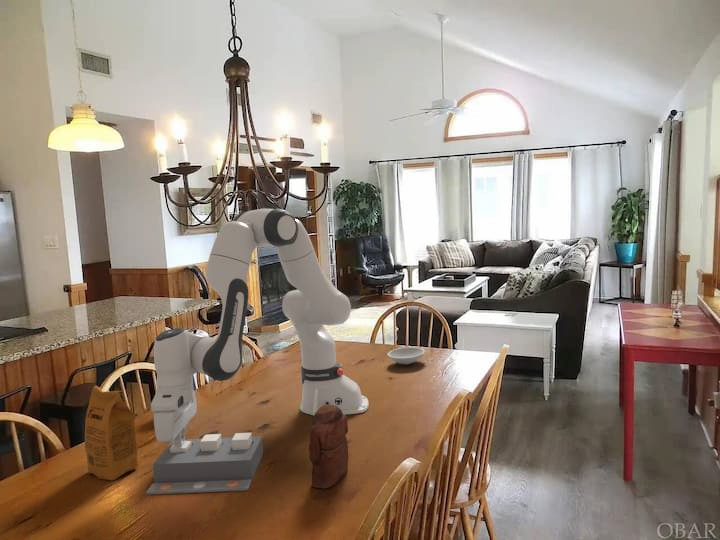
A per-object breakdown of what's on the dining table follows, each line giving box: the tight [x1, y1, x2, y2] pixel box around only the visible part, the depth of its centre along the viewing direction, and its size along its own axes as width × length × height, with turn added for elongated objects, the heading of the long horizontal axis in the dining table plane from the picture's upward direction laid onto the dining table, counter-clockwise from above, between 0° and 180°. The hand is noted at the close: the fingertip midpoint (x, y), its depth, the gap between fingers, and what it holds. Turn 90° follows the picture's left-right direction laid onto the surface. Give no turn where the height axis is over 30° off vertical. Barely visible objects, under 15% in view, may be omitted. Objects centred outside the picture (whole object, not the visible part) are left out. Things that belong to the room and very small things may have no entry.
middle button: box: [200, 433, 223, 452], centre depth 140 cm, size 4×4×4 cm
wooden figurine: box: [308, 404, 349, 490], centre depth 130 cm, size 12×6×18 cm, turn 155°
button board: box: [152, 435, 264, 483], centre depth 139 cm, size 24×14×5 cm, turn 89°
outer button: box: [170, 441, 192, 453], centre depth 141 cm, size 4×4×4 cm
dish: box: [386, 346, 426, 366], centre depth 223 cm, size 18×14×5 cm
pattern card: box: [145, 479, 252, 495], centre depth 130 cm, size 24×4×1 cm, turn 89°
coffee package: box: [84, 385, 139, 481], centre depth 140 cm, size 10×12×22 cm
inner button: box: [232, 432, 253, 450], centre depth 140 cm, size 4×4×4 cm
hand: (180, 444), depth 140 cm, fingers closed, pressing on outer button
